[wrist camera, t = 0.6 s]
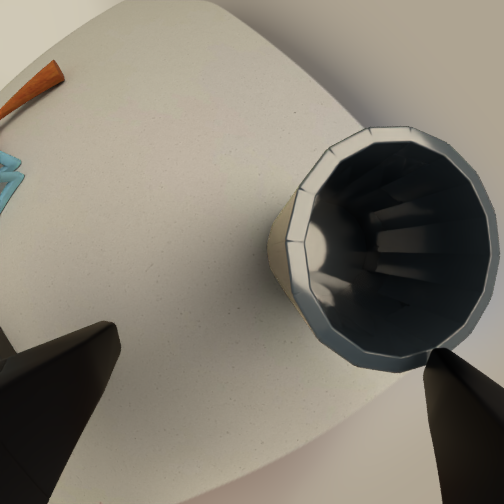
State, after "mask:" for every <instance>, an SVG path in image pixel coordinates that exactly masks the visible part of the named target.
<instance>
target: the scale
mask: <svg viewBox="0 0 504 504" xmlns="http://www.w3.org/2000/svg"><path fill="white" fill-rule="evenodd" d="M15 354H16V352H15V351H14V349H13V347H12V346H11V344H10V343H9V341H8V339H7V338H6V336H5V334H4V333H3V331H2V329H1V328H0V360H2V359H5V358H8V357H10V356H13V355H15Z"/></svg>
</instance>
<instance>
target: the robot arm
mask: <svg viewBox="0 0 504 504" xmlns="http://www.w3.org/2000/svg"><path fill="white" fill-rule="evenodd" d="M120 352H121V343H120V339H119V335H118V330H117V327H116V325H115V323H113V322H108V321H100V322H98V323H95V324H92V325H90V326H87V327H85V328H82V329H80V330H77V331H75V332H72V333H69V334H67V335H64V336H62V337H59V338H57V339H54V340H51V341H49V342H46V343H44V344H41V345H38V346H36V347H33V348H31V349H28V350H26V351H23V352H20V353H18V354H15V355H13V356H10V357H8V358H5V359H2V360H0V504H48V502H49V498H50V497H51V495H52V493H53V490H54V488H55V486H56V484H57V482H58V480H59V478H60V476H61V474H62V472H63V470H64V468H65V466H66V464H67V462H68V460H69V458H70V456H71V454H72V452H73V450H74V448H75V446H76V444H77V442H78V440H79V438H80V436H81V434H82V432H83V430H84V428H85V426H86V424H87V423H88V421H89V419H90V417H91V415H92V413H93V411H94V409H95V408H96V406H97V404H98V402H99V400H100V398H101V396H102V394H103V392H104V390H105V388H106V386H107V384H108V381H109V379H110V376H111V374H112V371H113V369H114V367H115V364H116V362H117V360H118V357H119V355H120ZM423 381H424V388H425V396H426V404H427V413H428V422H429V427H430V433H431V437H432V442H433V447H434V453H435V458H436V463H437V469H438V475H439V482H440V488H441V495H442V502H443V504H504V388H503V387H501V386H500V385H499V384H497V383H496V382H494V381H493V380H492V379H490V378H489V377H487V376H486V375H485V374H483V373H482V372H480V371H479V370H477V369H476V368H475V367H473V366H472V365H470V364H469V363H468V362H466V361H465V360H463V359H462V358H460V357H459V356H458V355H456V354H455V353H453V352H452V351H451V350H449V349H448V348H434V349H432V351H431V353H430V356H429V359H428V361H427V364H426V367H425V370H424V374H423Z"/></svg>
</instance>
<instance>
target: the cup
mask: <svg viewBox="0 0 504 504" xmlns="http://www.w3.org/2000/svg"><path fill="white" fill-rule="evenodd" d="M494 212H495V210H494V208H493V206H492V203H491V201H490V199H489V197H488V194H487V192H486V190H485V188H484V186H483V184H482V182H481V180H480V177H479V176H478V174H477V173H476V171H475V170H474V169H473V168H472V167H471V166H470V165H469V164H468V163H467V162H466V161H465V160H464V159H463V158H462V156H461V155H460V154H459V153H458V152H457V151H455V149H454V148H453V147H451V146H450V144H447V142H445V141H442V140H440V139H438V138H436V137H434V136H431V135H429V134H427V133H425V132H422V131H420V130H417V129H415V128H413V127H409V126H395V127H369V128H365V129H363V130H361V131H359V132H357V133H355V134H353V135H351V136H349V137H347V138H346V139H344V140H342V141H340V142H338V143H336V144H334V145H332V146H330V147H329V148H328V149H327V150H326V151H325V152H324V153H323V155H322V156H321V157H320V159H319V160H318V161H317V162H316V164H315V165H314V166H313V168H312V169H311V170H310V172H309V173H308V174H307V176H306V177H305V178H304V180H303V181H302V182H301V184H300V185H299V186H298V188H297V189H296V191H295V192H294V194H293V195H292V197H291V198H290V199H289V201H288V202H287V204H286V205H285V207H284V208H283V209H282V211H281V212H280V214H279V215H278V217H277V218H276V220H275V221H274V222H273V224H272V227H271V230H270V234H269V237H268V242H267V254H268V261H269V266H270V269H271V271H272V273H273V274H274V276H275V278H276V279H277V281H278V283H279V284H280V286H281V288H282V289H283V290H284V292H285V293H286V295H287V296H288V298H289V299H290V301H291V302H292V303H293V305H294V306H295V308H296V309H297V311H298V312H299V314H300V315H301V316H302V318H303V319H304V321H305V322H306V324H307V325H308V327H309V328H310V329H311V331H312V332H313V334H314V335H315V337H316V338H317V339H318V340H319V341H320V342H321V343H322V344H324V345H325V346H327V347H328V348H330V349H331V350H332V351H334V352H335V353H337V354H338V355H339V356H341V357H342V358H344V359H345V360H347V361H348V362H349V363H351V364H352V365H354V366H357V367H360V368H366V369H372V370H378V371H385V372H391V373H402V372H405V371H409V370H412V369H416V368H418V367H422V366H425V365H426V364H427V361H428V359H429V356H430V353H431V351H432V349H434V348H448V349H449V350H451V351H452V350H453V349H454V348H455V347H456V346H457V345H459V344H460V343H461V342H462V341H464V340H465V339H466V338H467V337H468V336H469V334H471V333H472V331H473V330H474V328H475V326H476V325H477V323H478V321H479V320H480V318H481V316H482V314H483V313H484V311H485V309H486V307H487V305H488V304H489V302H490V300H491V297H492V294H493V289H494V285H495V280H496V275H497V270H498V265H499V259H500V256H499V255H500V248H499V237H498V229H497V221H496V214H495V213H494Z"/></svg>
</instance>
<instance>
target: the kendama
mask: <svg viewBox="0 0 504 504" xmlns="http://www.w3.org/2000/svg"><path fill="white" fill-rule="evenodd" d="M63 80H65V79H64V76H63V73H62V71H61V70H60V68H59V66H58V64H57V63H56V62H55V60H53V61H51V62H50V63H49V64H48V65H47V66H45V67H44V68H43V69H42V70H41V71H40V72H38V73H37V74H36V75H35V76H34V77H33V78H32V79H31V80H29V81H28V82H27V83H26V84H25V85H24V86H23V87H22V88H21V89H20V90H19V91H18V92H17V93H16V94H15V95H14V96H13V97H12V98H11V99H10V100H9V101H8V102H7V103H6V104H5V105H4V106H3V107H2V108H1V109H0V120H1V119H2V118H4V117H5V116H7V115H8V114H9V113H11V112H12V111H14V110H15V109H17V108H18V107H20V106H21V105H23V104H25V103H26V102H28V101H29V100H31V99H33V98H34V97H36V96H37V95H39V94H41V93H42V92H44V91H46V90H47V89H49V88H51V87H53V86H54V85H56V84H58V83H60V82H62V81H63Z"/></svg>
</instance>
